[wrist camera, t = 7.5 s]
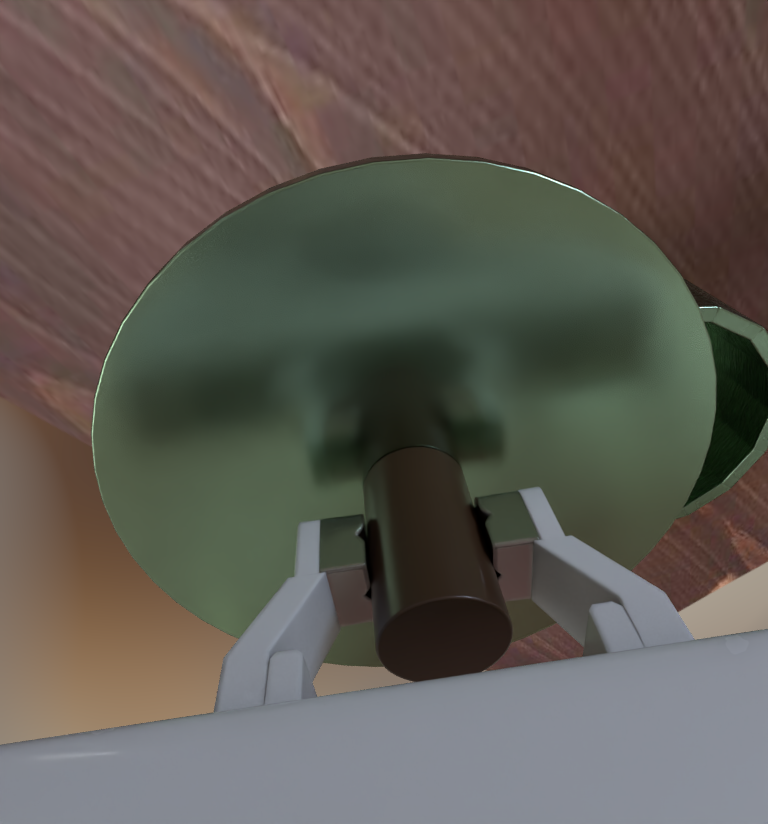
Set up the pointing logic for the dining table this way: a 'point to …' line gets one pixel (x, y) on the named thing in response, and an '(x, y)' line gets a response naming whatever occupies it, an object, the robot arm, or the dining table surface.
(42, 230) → the dining table surface
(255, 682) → the robot arm
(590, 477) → the tin lid
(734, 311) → the tin
